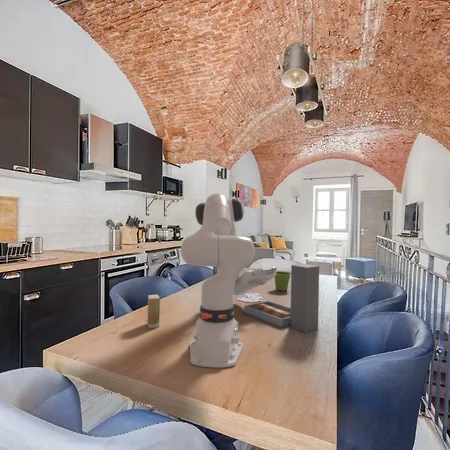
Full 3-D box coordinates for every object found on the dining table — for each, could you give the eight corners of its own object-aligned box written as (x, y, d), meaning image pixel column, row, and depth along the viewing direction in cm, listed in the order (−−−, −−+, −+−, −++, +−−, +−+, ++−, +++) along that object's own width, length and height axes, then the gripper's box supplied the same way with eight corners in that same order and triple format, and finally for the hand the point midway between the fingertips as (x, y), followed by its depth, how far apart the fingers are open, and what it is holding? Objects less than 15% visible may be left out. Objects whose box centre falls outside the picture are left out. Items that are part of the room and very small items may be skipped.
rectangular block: (258, 310, 143) (258, 304, 143) (262, 309, 145) (263, 303, 145) (285, 321, 128) (285, 314, 128) (290, 320, 130) (290, 313, 130)
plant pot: (271, 291, 187) (271, 273, 187) (274, 287, 198) (274, 270, 198) (289, 293, 183) (290, 275, 183) (291, 289, 194) (292, 272, 194)
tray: (244, 312, 141) (244, 305, 141) (268, 307, 151) (268, 300, 151) (282, 327, 122) (282, 319, 122) (306, 320, 131) (306, 312, 131)
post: (290, 326, 123) (291, 265, 123) (302, 322, 128) (303, 263, 128) (305, 332, 117) (307, 267, 117) (318, 328, 122) (319, 266, 122)
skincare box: (147, 323, 124) (147, 294, 124) (157, 322, 126) (157, 294, 126) (148, 328, 118) (149, 298, 118) (159, 327, 120) (160, 297, 120)
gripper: (233, 275, 144) (250, 264, 135) (263, 271, 156) (280, 261, 147) (237, 287, 142) (254, 277, 132) (267, 283, 154) (285, 273, 144)
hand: (268, 269), depth 140 cm, fingers open, 8 cm apart
